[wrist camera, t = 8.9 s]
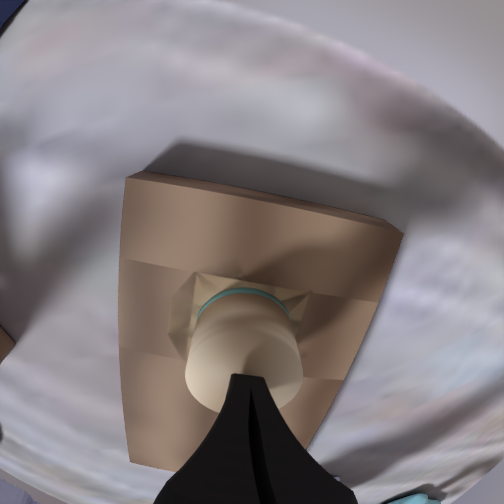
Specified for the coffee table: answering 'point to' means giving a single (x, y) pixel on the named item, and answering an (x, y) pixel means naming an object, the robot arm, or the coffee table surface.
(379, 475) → the coffee table surface
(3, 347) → the wooden block
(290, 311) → the board
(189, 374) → the beige cylinder
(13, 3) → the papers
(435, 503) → the penguin figurine
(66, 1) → the coffee table surface
